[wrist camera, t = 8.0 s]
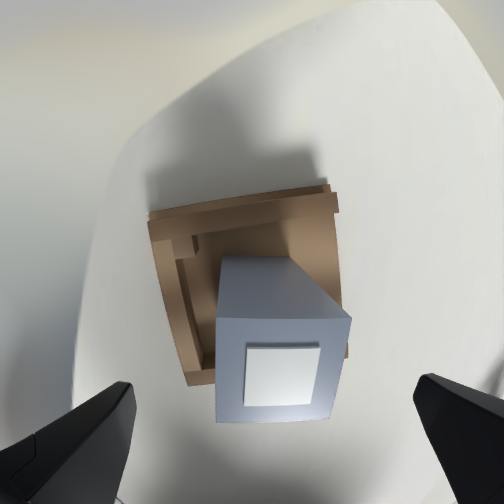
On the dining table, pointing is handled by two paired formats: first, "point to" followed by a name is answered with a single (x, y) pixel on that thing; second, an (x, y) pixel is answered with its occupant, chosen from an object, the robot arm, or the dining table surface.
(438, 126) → the dining table surface
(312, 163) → the dining table surface
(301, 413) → the grey tall block
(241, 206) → the pocket
